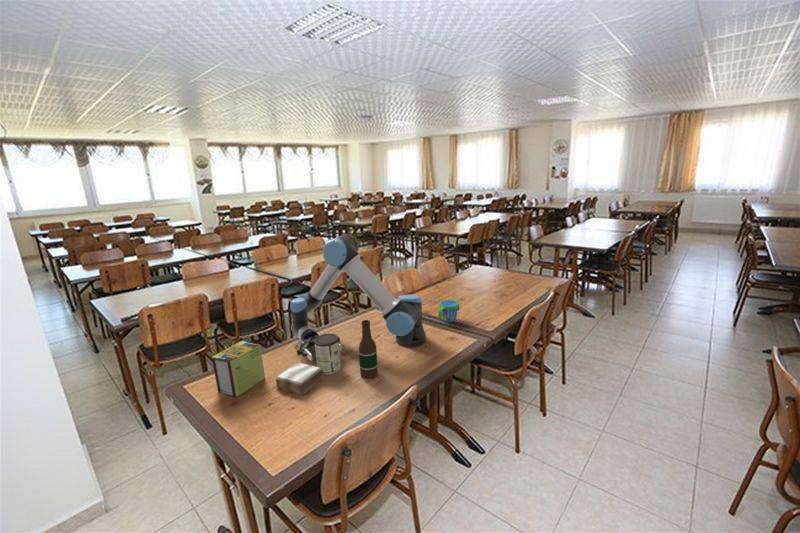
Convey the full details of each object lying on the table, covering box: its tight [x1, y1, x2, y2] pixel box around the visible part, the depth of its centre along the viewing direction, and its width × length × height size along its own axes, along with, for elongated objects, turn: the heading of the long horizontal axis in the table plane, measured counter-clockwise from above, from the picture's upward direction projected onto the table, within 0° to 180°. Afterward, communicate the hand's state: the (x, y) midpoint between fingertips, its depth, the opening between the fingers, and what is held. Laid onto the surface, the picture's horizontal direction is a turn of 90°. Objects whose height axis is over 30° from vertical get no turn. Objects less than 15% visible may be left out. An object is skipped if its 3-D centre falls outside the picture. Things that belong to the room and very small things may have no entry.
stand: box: [275, 362, 324, 396], centre depth 151 cm, size 13×13×5 cm
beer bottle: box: [358, 319, 379, 380], centre depth 153 cm, size 8×8×24 cm
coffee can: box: [314, 333, 342, 375], centre depth 160 cm, size 10×10×14 cm
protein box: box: [211, 340, 266, 398], centre depth 150 cm, size 10×15×16 cm
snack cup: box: [437, 299, 460, 323], centre depth 206 cm, size 16×10×10 cm
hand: (326, 352), depth 160 cm, fingers open, 13 cm apart
